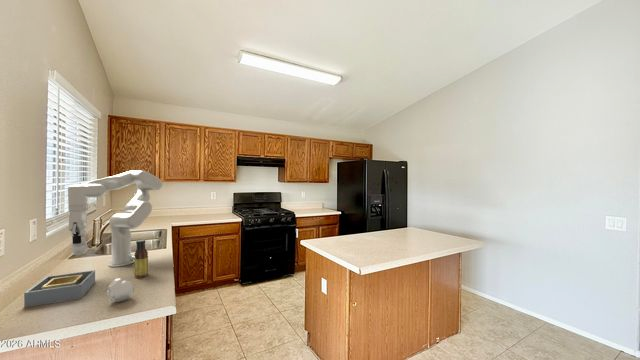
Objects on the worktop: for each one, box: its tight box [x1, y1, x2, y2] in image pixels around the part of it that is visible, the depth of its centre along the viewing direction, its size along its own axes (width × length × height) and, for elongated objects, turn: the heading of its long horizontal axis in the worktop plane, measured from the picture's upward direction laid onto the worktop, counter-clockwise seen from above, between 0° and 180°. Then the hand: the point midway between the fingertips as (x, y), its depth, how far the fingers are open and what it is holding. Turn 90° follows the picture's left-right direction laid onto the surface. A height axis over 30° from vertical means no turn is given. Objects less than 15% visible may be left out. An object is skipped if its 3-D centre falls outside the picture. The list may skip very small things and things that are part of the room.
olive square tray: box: [41, 274, 83, 290], centre depth 120 cm, size 11×11×5 cm
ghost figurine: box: [105, 277, 135, 303], centre depth 113 cm, size 9×10×10 cm
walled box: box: [23, 269, 96, 308], centre depth 120 cm, size 18×20×6 cm
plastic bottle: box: [70, 223, 89, 255], centre depth 137 cm, size 6×7×20 cm
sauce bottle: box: [133, 239, 149, 279], centre depth 140 cm, size 6×6×20 cm
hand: (79, 241), depth 137 cm, fingers closed on plastic bottle, 5 cm apart
